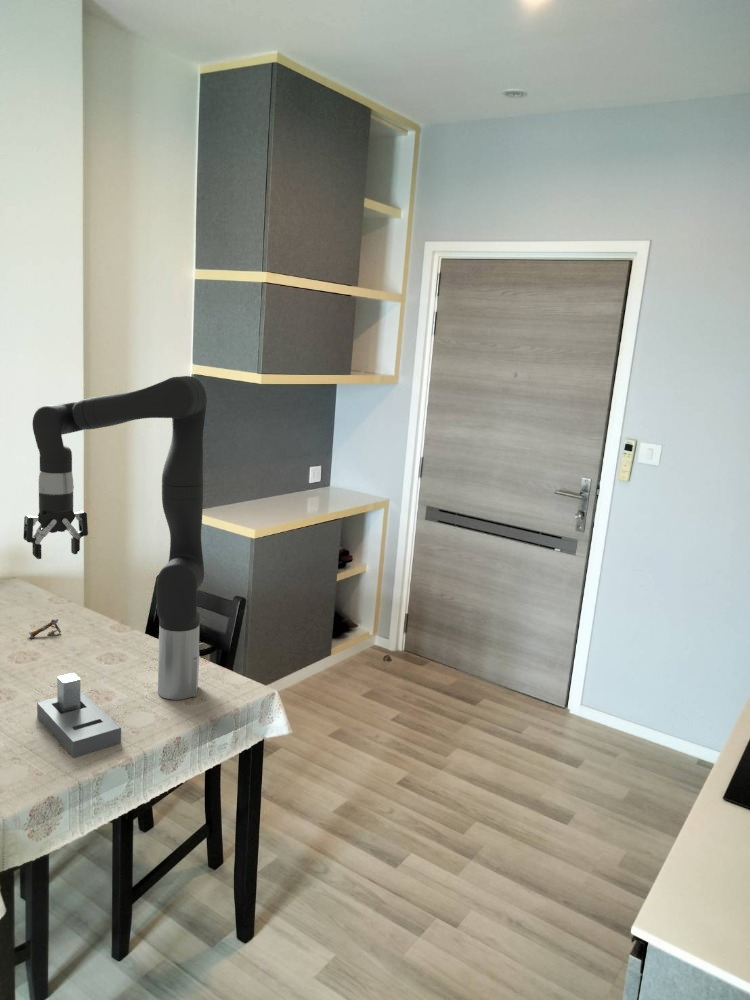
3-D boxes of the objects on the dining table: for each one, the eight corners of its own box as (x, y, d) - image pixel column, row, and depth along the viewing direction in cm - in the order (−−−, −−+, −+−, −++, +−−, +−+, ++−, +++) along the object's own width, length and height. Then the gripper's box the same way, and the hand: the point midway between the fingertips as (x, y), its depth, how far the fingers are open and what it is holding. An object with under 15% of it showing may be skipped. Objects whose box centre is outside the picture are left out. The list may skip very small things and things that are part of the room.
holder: (37, 717, 166) (37, 702, 165) (82, 705, 173) (82, 690, 172) (73, 757, 152) (73, 741, 151) (120, 742, 159) (121, 727, 158)
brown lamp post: (64, 631, 211) (57, 618, 209) (36, 646, 207) (29, 633, 205) (63, 629, 212) (56, 616, 210) (35, 644, 208) (28, 631, 206)
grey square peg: (57, 719, 166) (57, 676, 164) (74, 714, 168) (73, 672, 166) (63, 726, 163) (63, 683, 161) (80, 721, 166) (80, 679, 164)
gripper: (79, 484, 186) (79, 548, 189) (18, 488, 176) (20, 555, 179) (92, 490, 180) (92, 556, 184) (30, 495, 171) (31, 564, 174)
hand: (56, 555), depth 181 cm, fingers open, 8 cm apart
